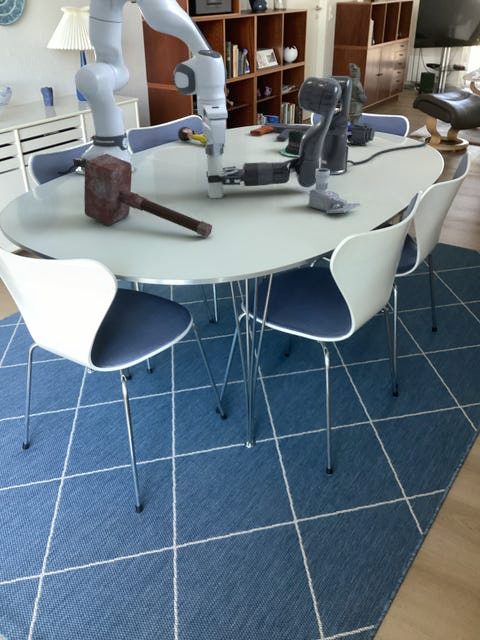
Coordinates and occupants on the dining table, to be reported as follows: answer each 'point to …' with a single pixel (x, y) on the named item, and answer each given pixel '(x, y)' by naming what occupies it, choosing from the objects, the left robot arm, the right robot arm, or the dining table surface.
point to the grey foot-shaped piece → (327, 195)
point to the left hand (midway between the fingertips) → (213, 153)
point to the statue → (356, 95)
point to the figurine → (191, 135)
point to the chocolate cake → (294, 142)
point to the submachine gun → (277, 129)
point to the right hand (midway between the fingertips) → (207, 176)
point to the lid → (212, 149)
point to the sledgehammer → (124, 196)
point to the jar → (215, 169)
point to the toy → (360, 133)
